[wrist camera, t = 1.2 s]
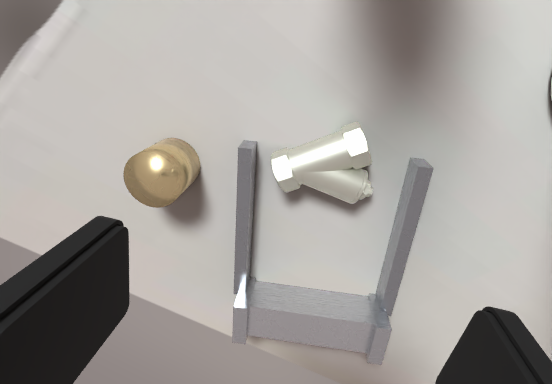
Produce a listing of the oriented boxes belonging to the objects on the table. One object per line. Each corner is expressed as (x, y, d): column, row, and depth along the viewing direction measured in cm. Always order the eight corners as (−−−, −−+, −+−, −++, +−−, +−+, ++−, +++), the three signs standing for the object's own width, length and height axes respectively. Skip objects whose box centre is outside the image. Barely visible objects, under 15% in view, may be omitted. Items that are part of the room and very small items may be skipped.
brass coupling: (199, 140, 31) (179, 155, 26) (200, 188, 32) (181, 210, 28) (149, 135, 31) (120, 149, 26) (153, 183, 33) (127, 203, 28)
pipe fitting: (376, 182, 31) (356, 117, 28) (385, 202, 27) (363, 130, 25) (298, 207, 33) (272, 149, 30) (297, 228, 29) (268, 165, 27)
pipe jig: (424, 159, 29) (443, 177, 24) (377, 328, 37) (386, 365, 32) (244, 140, 30) (232, 155, 26) (237, 308, 38) (227, 341, 34)
